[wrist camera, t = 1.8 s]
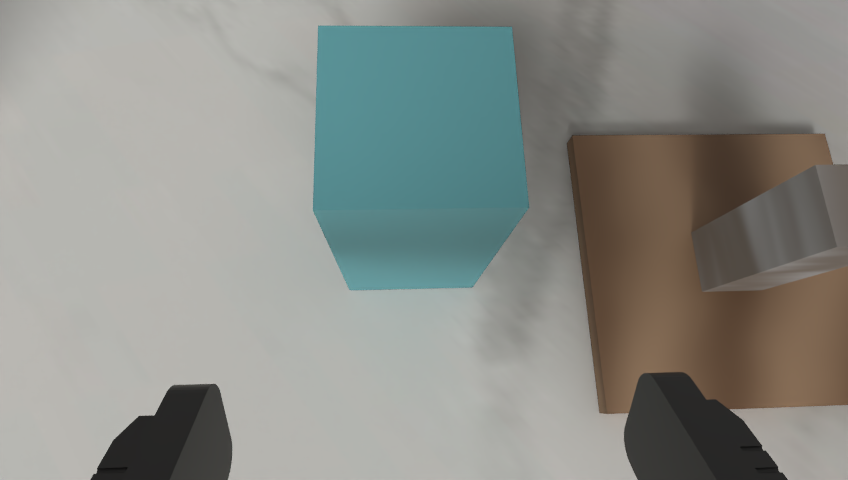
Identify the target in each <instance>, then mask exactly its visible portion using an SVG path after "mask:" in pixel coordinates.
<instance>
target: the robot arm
mask: <svg viewBox="0 0 848 480" xmlns="http://www.w3.org/2000/svg"><path fill="white" fill-rule="evenodd" d="M624 442H625V449H626V453H627V456H628V459H629V462H630V464H631V466H632V468H633V471H634V473H635V475H636V477H637V479H638V480H788V479H787V478H786V477H785V475H784V474H783V473H780V472H779V471H778V466H777V465H776V464H775V462H774V461H773V460H772V458H771V457H770V456H769V454H768V453H767V452H766V451H763V450H762V445H761V444H760V442H759V441H758V440H757V438H756V437H755V436H754V434H753V433H752V432H751V430H750V429H749V428H748V426H747V425H746V424H745V423H744V421H743V420H742V419H740V418H739V417H738V416H737V415H735V414H734V413H733V412H732V411H730V410H729V409H728V408H727V407H725V406H724V405H723V404H721V403H720V402H719V401H718V400H716V399H708V400H706V398H705V397H704V396H703V394H702V393H701V391H700V390H699V388H698V387H697V386H696V384H695V383H694V381H693V380H692V379H691V378H690V376H689V375H687V374H686V373H684V372H664V373H643V374H642V375H641V376H640V377H639V379H638V382H637V386H636V390H635V393H634V397H633V400H632V404H631V407H630V411H629V415H628V418H627V422H626V425H625V430H624ZM231 461H232V441H231V436H230V432H229V427H228V423H227V419H226V415H225V410H224V406H223V402H222V398H221V393H220V390H219V388H218V386H217V385H216V384H198V385H174V386H172V387H170V388H169V390H168V391H167V393H166V395H165V396H164V398H163V400H162V402H161V404H160V406H159V408H158V410H157V412H156V414H155V416H139V417H138V418H136V419H135V420H134V421H133V422H132V423H131V424H130V425H129V426H128V427H127V428H126V429H125V430H124V431H123V432H122V433H121V434H119V435H118V436H117V437H116V438H115V439H114V440H113V442H112V444H111V445H110V447H109V449H108V451H107V452H106V454H105V456H104V457H103V459H102V461H101V463H100V464H99V466H98V468H97V473H96V474H94V475H93V477H92V478H91V480H228V476H229V473H230V468H231Z"/></svg>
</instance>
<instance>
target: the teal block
mask: <svg viewBox="0 0 848 480" xmlns="http://www.w3.org/2000/svg"><path fill="white" fill-rule="evenodd" d="M528 208H529V201H528V190H527V180H526V169H525V159H524V148H523V138H522V127H521V117H520V106H519V96H518V85H517V75H516V64H515V54H514V43H513V33H512V27H461V26H318V53H317V88H316V123H315V158H314V193H313V212H314V214H315V216H316V218H317V220H318V222H319V225H320V227H321V229H322V231H323V233H324V235H325V238H326V240H327V242H328V244H329V246H330V248H331V251H332V253H333V255H334V257H335V259H336V261H337V264H338V266H339V268H340V270H341V272H342V274H343V277H344V279H345V281H346V283H347V285H348V288H349V290H381V289H424V288H467V287H473V286H474V284H475V283H476V281H477V280H478V279H479V277H480V276H481V274H482V273H483V271H484V270H485V269H486V267H487V266H488V264H489V263H490V262H491V260H492V259H493V257H494V256H495V255H496V253H497V252H498V250H499V249H500V248H501V246H502V245H503V243H504V242H505V241H506V239H507V238H508V236H509V235H510V234H511V232H512V231H513V229H514V228H515V227H516V225H517V224H518V222H519V221H520V219H521V218H522V217H523V215H524V214H525V212H526V211H527V210H528Z"/></svg>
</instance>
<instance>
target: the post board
mask: <svg viewBox="0 0 848 480" xmlns="http://www.w3.org/2000/svg"><path fill="white" fill-rule="evenodd" d="M567 148H568V156H569V165H570V173H571V181H572V189H573V198H574V206H575V214H576V222H577V231H578V239H579V247H580V255H581V264H582V272H583V280H584V288H585V297H586V305H587V313H588V321H589V330H590V338H591V346H592V354H593V363H594V371H595V379H596V387H597V396H598V404H599V412H600V413H605V414H614V413H629V411H630V407H631V404H632V400H633V397H634V393H635V390H636V386H637V382H638V379H639V377H640V376H641V375H642V374H643V373H664V372H684V373H686V374H687V375H689V376H690V378H691V379H692V380H693V381H694V383H695V384H696V386H697V387H698V388H699V390H700V391H701V393H702V394H703V396H704V397H705V398H706V400H708V399H716V400H718V401H719V402H720V403H721V404H723V405H724V406H725V407H727V408H728V409H747V408H774V407H801V406H827V405H848V165H833V162H832V159H831V155H830V151H829V148H828V144H827V141H826V137H825V134H729V135H573V136H572V137H571V138H570V140H569V141H568V143H567Z"/></svg>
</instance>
